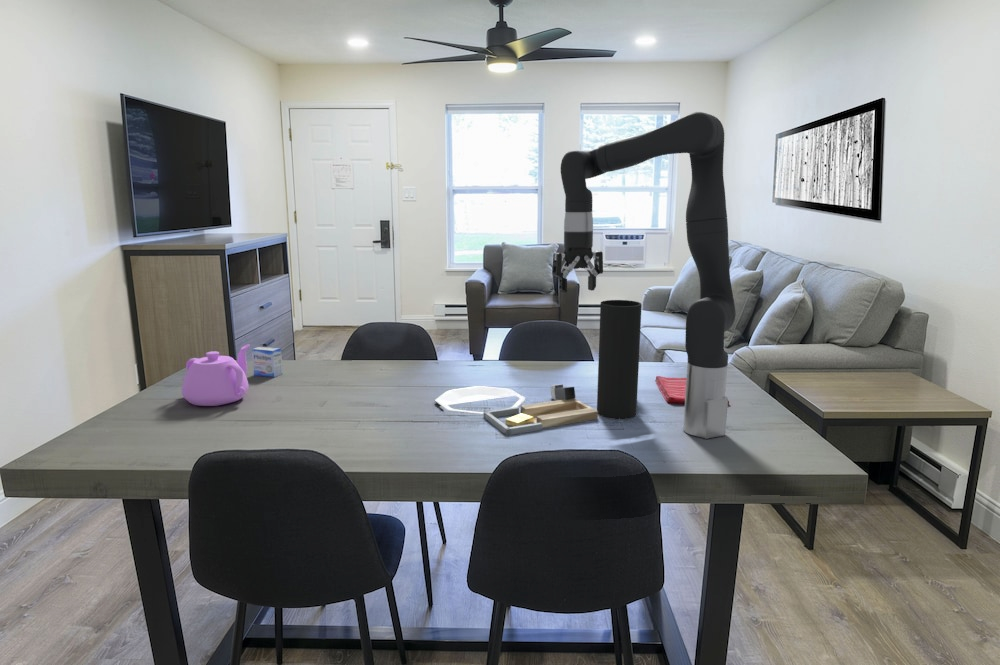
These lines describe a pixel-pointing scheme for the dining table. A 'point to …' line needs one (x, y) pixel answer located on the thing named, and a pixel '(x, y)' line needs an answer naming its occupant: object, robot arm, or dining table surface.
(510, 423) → the yellow rectangular block
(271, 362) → the medicine box
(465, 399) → the plate
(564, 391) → the stepped metal block
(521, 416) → the yellow block
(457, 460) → the dining table surface
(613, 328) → the vase
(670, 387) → the dish towel
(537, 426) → the tray
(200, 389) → the teapot
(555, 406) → the slot board
